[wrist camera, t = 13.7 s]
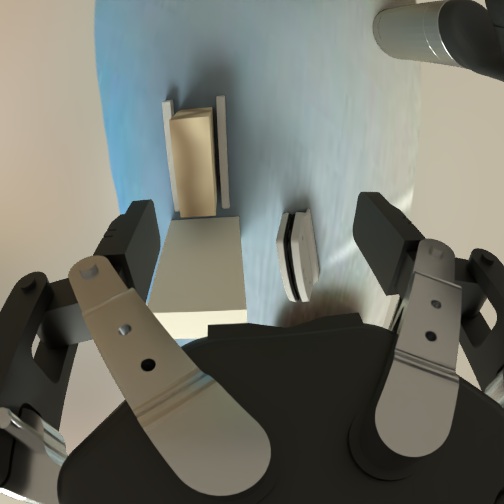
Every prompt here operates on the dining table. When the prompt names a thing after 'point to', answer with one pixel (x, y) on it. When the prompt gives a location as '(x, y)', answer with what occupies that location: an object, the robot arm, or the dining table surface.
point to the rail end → (194, 161)
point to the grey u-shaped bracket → (200, 259)
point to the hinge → (297, 255)
